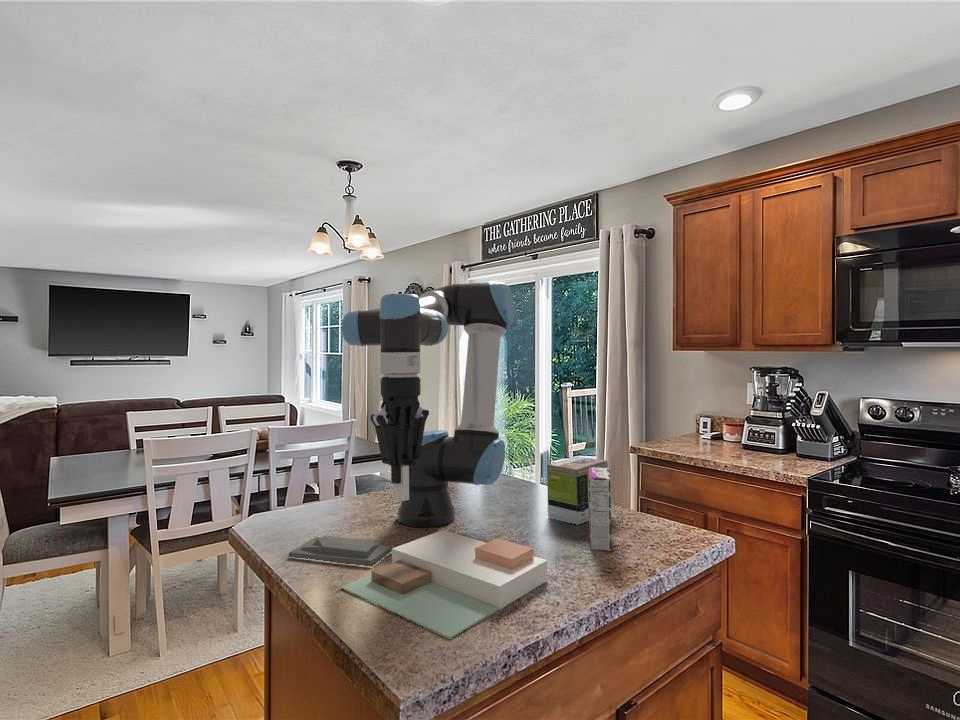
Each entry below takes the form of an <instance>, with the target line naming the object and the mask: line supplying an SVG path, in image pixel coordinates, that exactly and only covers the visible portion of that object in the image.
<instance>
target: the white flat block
mask: <svg viewBox="0 0 960 720" xmlns="http://www.w3.org/2000/svg"><path fill="white" fill-rule="evenodd" d="M485 543H487V542H485V541H482V540H479V539H475V538H471V537H468V536H465V535H462V534H457V533H455V532H451V531H447V530H444V529H442V530H441V529H440V530H439V531H435V532H433V533H430V534H428V535H425V536H422V537H419V538H417V539H415V540H412V541H410V542H406V543H403V544H400V545H398V546H396V547H393V548H392V553H391V563H393V562H396V561H399V560H401V561H403V562H406V563H408V564H411V565H414V566H416V567H419V568H421V569H424V570H427V571H429V572H431V583H433V584H436V585H439V586H441V587H444V588H446V589H449V590H452V591H454V592H457V593H459V594H462V595H465V596H467V597H470V598H472V599H475V600H478V601H480V602H483V603H485V604H488V605H491V606H493V607H496V608H498V611H499V610H502V609H504V608H505V607H507V606H508V605H510V604H511V603H513V602H515V601H517V600H518V599H519V598H522V597H524V596H525V595H526V594H528V593H529V592H531V591H533V590H535V589H536V588H538V587H540V586H541V585H543V584H545V583H546V582H547V581H548V560H547V559H544V558H541V557H537V556H534V559H532V560H530V561H528V562H526V563H524V564H523V565H521V566H519V567H517V568H515V569H513V570H511V569H508V568H505V567H501V566H498V565H495V564H492V563H489V562H486V561H483V560H479V559H476V558H475V548H476V547H478V546H481V545H483V544H485Z"/></svg>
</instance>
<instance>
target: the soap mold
mask: <svg viewBox="0 0 960 720" xmlns="http://www.w3.org/2000/svg"><path fill="white" fill-rule="evenodd" d="M392 548H394V547H393V545H391V544H381V543H376V542H375V541H371V540H369V539H358V538H349V537H341V536H330V535H323V536H321V537H319V536H315V537H313V538H311V539H310V540H308V541H306V542H304V543H303V544H301V545H300V546H298V547H296V548H294V549H292V550H290V551H289V552H288V558H289V557H295V558H306V559H308V558H309V559H315V560H323V561H330V562H337V563H345V564H356V565H364V566H371V567H372V566H373V565H375V564H376V563H377V562H378V561H380V560H381V559H382V558H383V557H385V556H386V555H387V554H389V553H390V552H391V551H392Z"/></svg>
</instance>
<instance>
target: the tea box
mask: <svg viewBox="0 0 960 720" xmlns="http://www.w3.org/2000/svg"><path fill="white" fill-rule="evenodd" d="M591 467H595V468H609V467H608V460H605V459H597V458H592V457H590V458H589V457H583V456H574V457H572V458H568V459H564V460H559V461H557V462H553V463H548V464H546V470H547V471H546V473H547V474H546V477H547V481H546V482H547V486H546V487H547V517H548V518H549V517H550V518H549V519H552V518H553V519H552V520H555V519H557V520H556V521H559V520H561V521H560V522H563V521H565V522H564V523H566V522H568V523H567V524H570V523H572V524H571V525H574V524H576V525H575V526H579V525H581V524H583V523H586V522H589V468H591Z"/></svg>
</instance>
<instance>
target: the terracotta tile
mask: <svg viewBox="0 0 960 720" xmlns="http://www.w3.org/2000/svg"><path fill="white" fill-rule="evenodd" d="M534 557H535V555H534V548H533V547H530V546H526V545H522V544H520V543H515V542H511V541H508V540H505V539H501V538H497V537H496V538H494V539H492V540H490V541H488V542H486V543H485V544H483V545H481V546H478V547H476V548H475V558H476V559H479V560H483V561H486V562H489V563H492V564H495V565H498V566H501V567H505V568H508V569H511V570H513V569H515V568H517V567H519V566H521V565H523V564H524V563H526V562H528V561H530V560H532V559H534Z"/></svg>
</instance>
